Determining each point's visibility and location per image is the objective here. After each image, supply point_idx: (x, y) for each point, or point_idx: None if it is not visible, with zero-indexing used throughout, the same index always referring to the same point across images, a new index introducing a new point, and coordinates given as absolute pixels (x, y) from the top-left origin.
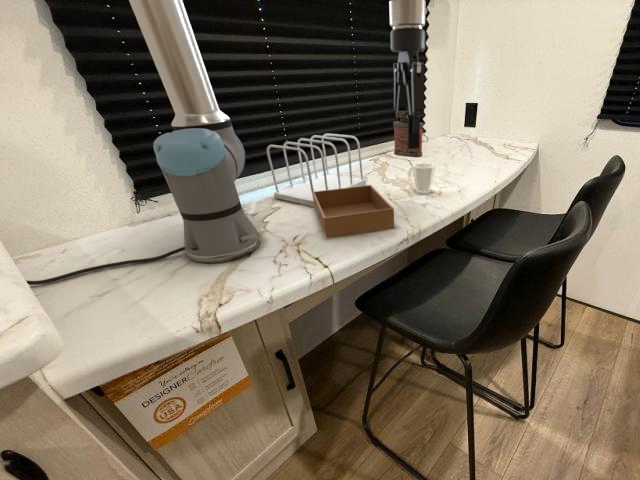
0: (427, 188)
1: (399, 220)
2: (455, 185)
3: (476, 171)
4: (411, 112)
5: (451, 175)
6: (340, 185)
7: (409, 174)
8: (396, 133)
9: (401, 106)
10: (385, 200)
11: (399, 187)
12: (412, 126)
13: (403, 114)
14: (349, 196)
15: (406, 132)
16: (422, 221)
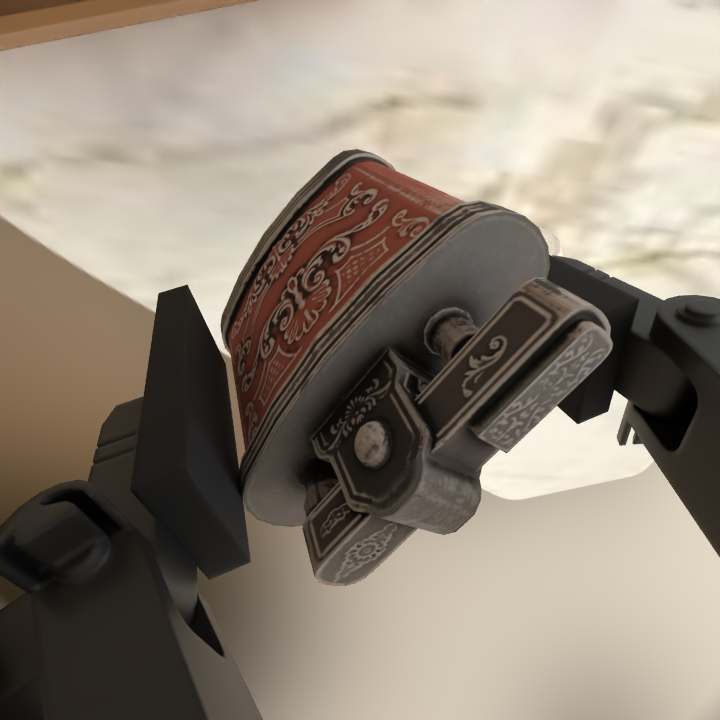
0: None
1: (86, 111)
2: None
3: (562, 433)
4: (40, 633)
5: None
6: None
7: (545, 233)
8: (389, 214)
9: (700, 422)
10: (72, 16)
11: (531, 172)
12: (126, 454)
13: (449, 408)
14: None
15: (299, 331)
16: (90, 229)
